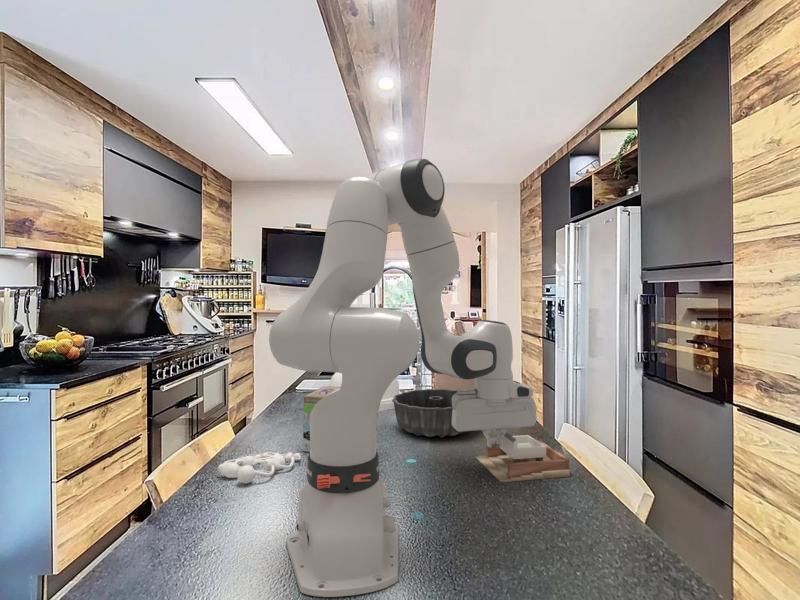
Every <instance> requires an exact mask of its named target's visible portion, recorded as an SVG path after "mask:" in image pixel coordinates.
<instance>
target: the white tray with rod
mask: <svg viewBox="0 0 800 600" xmlns="http://www.w3.org/2000/svg"><path fill="white" fill-rule="evenodd" d="M495 430H496V431H497V433H498V432H499V431H498V430H497V429H495ZM537 440H538V439H535V438H533V437H532V436H531V435H529V434H526V435H511V434H510V433H509V432H507V431H506V434H505V435H504V437H503V439H502V446H501V447H499V448H500V449H501V453H502V454H508V455H509V456H510V457H511V458H513V463H518V462H521V459H526V458H535V460H536V461H543V457H546V446H544V445H543V444H541V443H540V442H538V441H537Z"/></svg>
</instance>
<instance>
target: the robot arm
mask: <svg viewBox="0 0 800 600" xmlns="http://www.w3.org/2000/svg"><path fill="white" fill-rule="evenodd" d="M444 197H445V182H444V178H443V175H442V173H441V171H440V170H439V168H438V166H436V165H435V164H434V163H433V162H431V161H430V160H429V159H426V158H414V159H410V160H406V161H405V163H400V164H396V165H392V166H390V167H387V168H382V169H379V170H378V171H376V172H373V173H371V174H369V175H368V176H360V175H359V176H352V177H349V178H347V179H344V180H343V181H342V182H341V183H340V184H339V186H338V188H337V190H336V192H335V195H334V197H333V201H332V203H331V206H330V209H329V215H328V219H327V224H326V228H325V229H326V230H325V236H324V241H323V247H322V251H321V256H320V261H319V264H318V268H317V271H316V273H315V275H314V277H313V280H312V281H311V283H310V284H309V286H308V287H307V289H306V290H305V291H304V293H303V294H302V295H301V297H299V299H297V300H296V302H294V303H293V304H292V305H291V306H290V307H288V308H286V309H285V310H283V311H282V312H280V313H279V314H278V315H277V316H276V317H275V319H274V321H273V323H272V325H271V327H270V330H269V337H268V343H269V348H270V352H271V355H272V356H273V358H274V359H275V360H276V362H277V363H278V364H280V365H282V366H286V367H289V368H292V369H296V370H299V371H303V372H319V373H320V372H324V373H336V372H338V373H342V384H341V387H340V390H338V391H336V392H334V393H332V394H330V395H328V396H326V397H324V398H323V399H321V400H320V401H318V402H317V403H316V405H315V406H314V408H313V409H312V412H311V415H310V452H309V454H308V456H307V460H306V461H307V462H306V478H307V481H306V483H305V484H304V485H303V486H302V487H301V489H299V490H298V499H297V500H298V504H297V505H298V506H297V515H298V516H297V524H296V530H295V531H293V532H291V533H289V534H288V535H286V537H285V538H286V539H285V546H286V549H287V553H288V557H289V558H290V559H291V560H290V563H291V567H292V568H293V569H294V570H293V573H294V577H295V579H296V582H297V586H298V589H299V591H300V592H301V594H305V595H306V596H313V597H320V598H321V597H323V598H337V597H347V596H356V595H357V596H358V595H363V594H368V593H373V592H377V591H380V590H384V589H386V588H388V587H391V586H392V585H394V584H396V583H397V582H398V580H399V562H400V561H399V557H400V556H399V552H400V551H399V548H400V547H399V545H400V544H399V540H400V539H399V537H400V536H399V535H400V534H399V531H400V530H399V526H398V525H397V524H396V523H395V522H396V521H395V516H394V515H389V516H387V509H388V508H391V498H387V494H386V493H387V484H386V483H385V482H384V481H382V480H381V479H380V467H381V466H380V459H379V452H378V451H377V430H378V419H379V418H378V415H379V412H378V410H379V406H380V402H381V400H382V397H383V395H384V393H385V391H386V390H387V388H388V386H389V385H390V384H391V383H392V381H393V380H394V379H395V378H397V377H398V376H400V375H401V374H403V373H404V372H405V371H406V370H408V369H409V368H410V367H411V366H412V365H413V363H414V361H415V359H416V358H417V355H418V353H419V349H420V356H421V357H420V358H421V361H422V364H423V365H424V366H425V368H426V369H427V370H428V371H430V372H432V373H433V374H438V375H446V376H449V377H451V378H457V379H460V380H465V381H467V380H468V381H469V380H473V379H474V389H468V390H463V389H462V390H461V389H460V391H458V392H457V393H455V394H454V395H453V396H452V407H453V411H452V426H453V427H454V428H455V429H456V430H457V431H459V432H461V431H467V432H473V431H481V432H482V433H483V435H484V437H485V439H486V445H487V446H488V447H489V448H491V447H501V446H502V439H503V437H504V435H505V434H506V432H507V429H511V428H525V427H533V426H535V424H536V422H537V408H536V402H535V399H534V398H533V396H534V389H533V388H532V387H530V386H529V385H527V384H524V383H521V382H519V381H516V380H514V376H513V375H514V374H513V371H512V362H513V359H514V358H513V357H514V354H513V351H514V350H513V337H512V332H511V328H510V326H509V325H508V324H507V323H505V322H501V321H496V320H490V319H489V320H488V319H480V320H478V321H477V323H476V324H475V325H474V326H473V327H472V328H471V329H469V330H468V331H465V332H464V333H461V334H460V335H457V334H452V332H451V331H450V330H449V329H448V327H447V325H446V318H445V314H444V313H445V312H444V308H443V303H442V293H443V291H444V289H445V288H446V287H447V286H448V285H449V284H450V283H452V281H453V280H454V279H455V278H456V276H457V274H458V272H459V269H460V257H459V256H460V255H459V251H458V246H457V243H456V240H455V237H454V232H453V230H452V227H451V224H450V222H449V219H448V217H447V215H446V213H445V211H444V208H443V206H442V205H443V202H444ZM395 224H397V225H398V227H399V228H400V232H401V239H402V243H403V248H404V251H405V254H406V258H407V261H408V266H409V269H410V274H411V281H412V293H413V299H414V303H415V308H416V314H417V318H418V323H419V324H418V325H419V327H420V328H419V329H420V333H421V346H420V333H419V331H418V327H417V324H416V323H415V321H414V320H413V318H412V317H411V316H410V315H409V314H408V313H406V312H402V311H399V310H396V309H395V310H394V309H389V308H384V307H367V306H366V307H363V306H362V307H360V306H359V307H356V306H355V307H354V306H353V307H351V306H352V304H353V303H354V302H355V301H356V299H357V298H358V297H359V296H361V295H363V294H364V293H367V292H368V291H371V290H372V289H373V288H375V287H376V286H377V285H378V284H379V282H381V279H382V278H383V275H384V271H385V270H384V269H385V260H386V251H387V242H388V232H389V231H388V230H389V229H388V227H389V226H392V225H395ZM457 394H458V395H457ZM496 429H497V430H498V431H499V432H498V431H497V430H496ZM492 430H496V431H497V435H496V437H491V434H492Z"/></svg>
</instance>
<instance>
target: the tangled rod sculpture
mask: <svg viewBox="0 0 800 600" xmlns="http://www.w3.org/2000/svg"><path fill="white" fill-rule="evenodd" d="M301 455H302V454H301V453H298V452H295V453H293V452H289V451H288V452H287V453H283V454H281V453H280V452H272V451H268V452H263V453H262V454H255V455H246V456H243V457H239V458H234V459H229V460H226V461H223V463H220V464H219V465H218V466H217V470H218V472H219V473H220V474H221V475H223V476H225V477H226V478H228V479H235V478H237V481H239V482H240V483H241V484H244V485H245V484H250V483H252V481H253V480H254V479H255V476H257V475H258V476H261V477H271V476H273V475H274V474H275V471H279V470H283V469H287V470H288V469H289V470H290V469H291V468H292V467H293V466H294V464H295V461H298V460H301V459H302V456H301ZM286 461H287V462H290V463H289V465H287V464H286ZM239 464H242V466H240V465H239ZM258 464H261V465H262V469H263V470H265V471H267V472H265V471H259V470H255V468H254V466H256V465H258Z"/></svg>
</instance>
